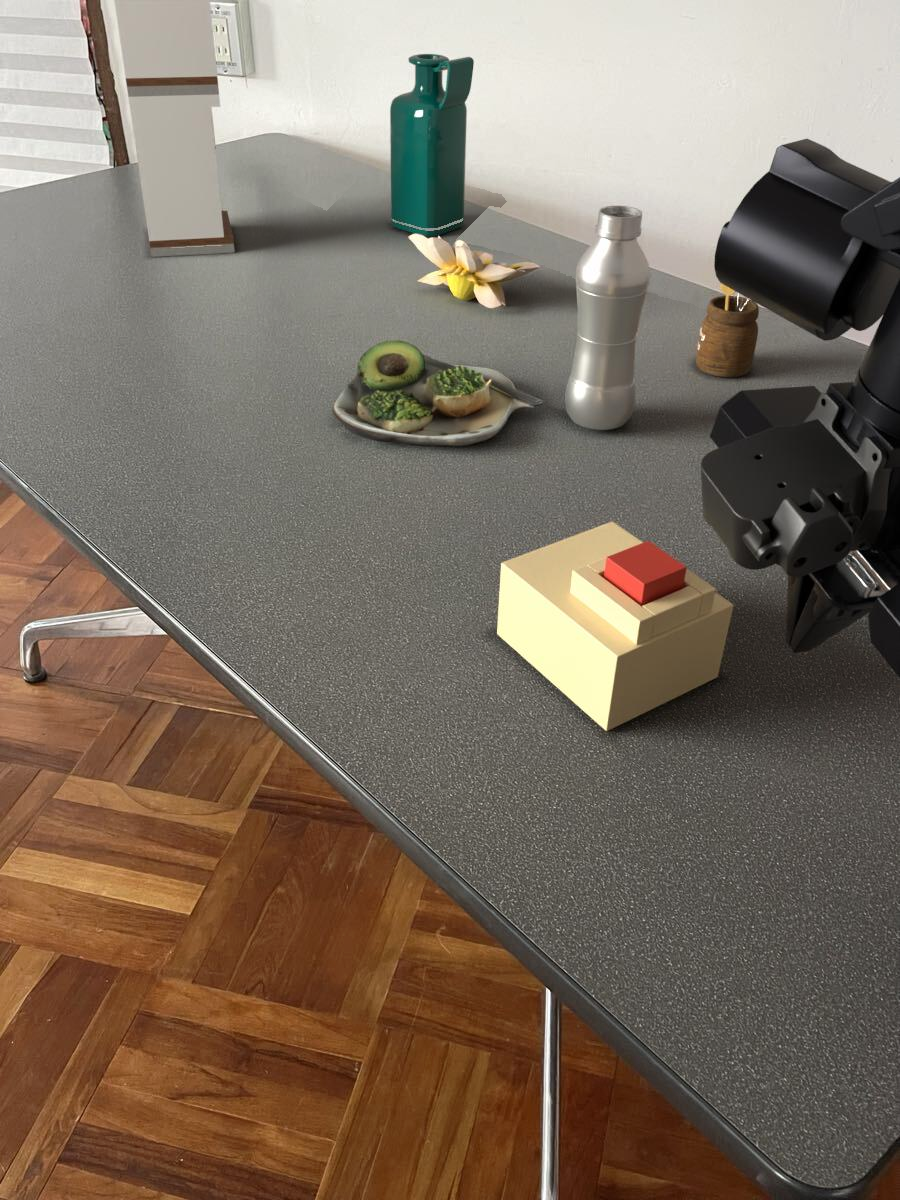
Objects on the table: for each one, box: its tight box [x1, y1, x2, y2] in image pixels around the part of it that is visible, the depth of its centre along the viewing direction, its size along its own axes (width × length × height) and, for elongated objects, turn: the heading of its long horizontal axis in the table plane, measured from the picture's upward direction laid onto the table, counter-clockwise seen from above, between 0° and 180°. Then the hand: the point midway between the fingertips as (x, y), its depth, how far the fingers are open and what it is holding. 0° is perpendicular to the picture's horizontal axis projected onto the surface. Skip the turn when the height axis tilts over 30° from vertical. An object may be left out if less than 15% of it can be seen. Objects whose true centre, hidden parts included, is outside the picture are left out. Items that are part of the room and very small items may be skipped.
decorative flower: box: [408, 233, 541, 309], centre depth 127 cm, size 15×11×10 cm
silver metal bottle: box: [564, 205, 651, 431], centre depth 98 cm, size 6×7×20 cm
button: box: [604, 540, 688, 606], centre depth 68 cm, size 4×4×2 cm
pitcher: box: [389, 53, 475, 238], centre depth 145 cm, size 10×8×22 cm
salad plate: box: [331, 339, 544, 447], centre depth 104 cm, size 19×18×5 cm
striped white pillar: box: [113, 0, 236, 258], centre depth 134 cm, size 11×11×35 cm
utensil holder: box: [695, 283, 760, 378], centre depth 111 cm, size 6×6×12 cm
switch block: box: [496, 521, 734, 732], centre depth 73 cm, size 12×10×8 cm
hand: (797, 647), depth 56 cm, fingers closed
